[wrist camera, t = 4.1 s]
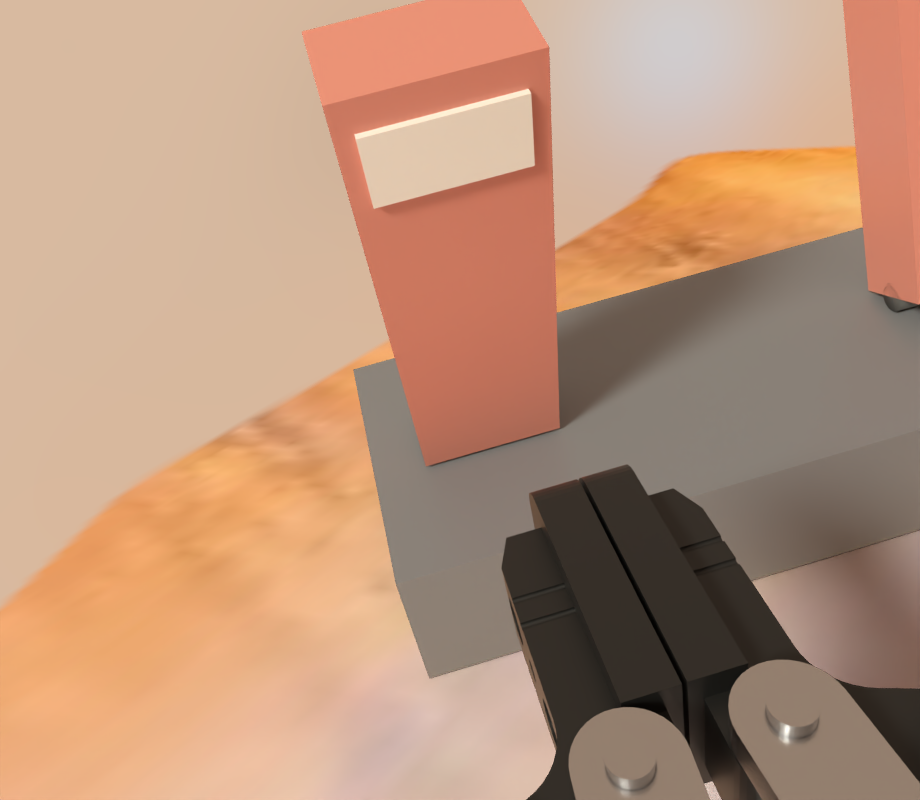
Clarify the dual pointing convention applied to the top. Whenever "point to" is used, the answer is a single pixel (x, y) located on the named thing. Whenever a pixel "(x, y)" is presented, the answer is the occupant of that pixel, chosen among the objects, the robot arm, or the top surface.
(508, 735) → the top surface
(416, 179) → the block
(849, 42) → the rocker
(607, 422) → the grey switch base
